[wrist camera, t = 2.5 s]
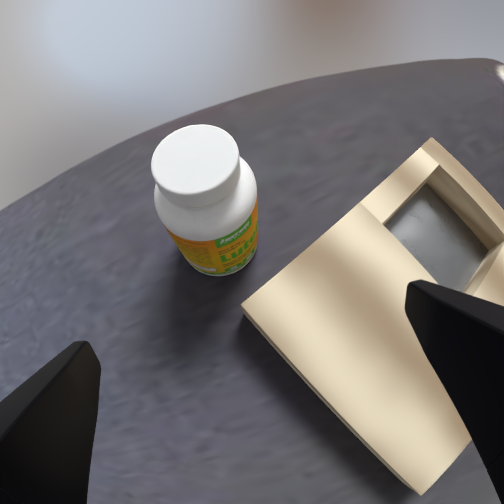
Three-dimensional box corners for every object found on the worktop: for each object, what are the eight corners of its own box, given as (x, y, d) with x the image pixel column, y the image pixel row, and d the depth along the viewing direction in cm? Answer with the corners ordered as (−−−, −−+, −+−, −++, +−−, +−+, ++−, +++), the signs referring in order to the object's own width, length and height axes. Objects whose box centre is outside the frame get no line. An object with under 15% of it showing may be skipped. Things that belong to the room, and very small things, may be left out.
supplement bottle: (233, 292, 21) (211, 232, 12) (168, 254, 22) (113, 180, 13) (272, 226, 23) (277, 136, 14) (208, 195, 24) (181, 101, 15)
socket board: (403, 483, 16) (421, 495, 13) (243, 313, 21) (240, 304, 18) (536, 292, 20) (557, 283, 17) (418, 157, 25) (431, 136, 22)
